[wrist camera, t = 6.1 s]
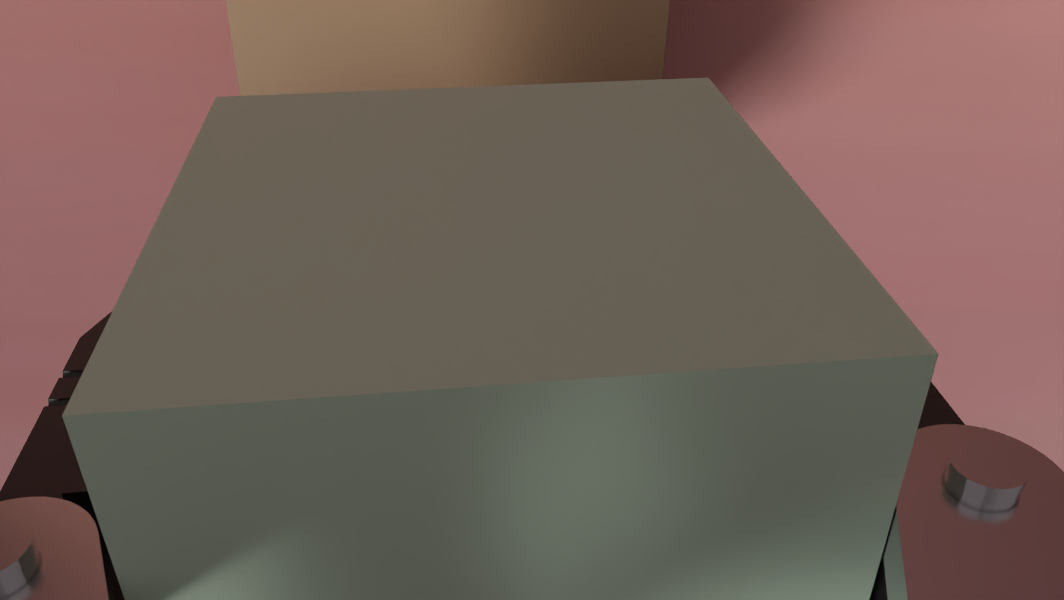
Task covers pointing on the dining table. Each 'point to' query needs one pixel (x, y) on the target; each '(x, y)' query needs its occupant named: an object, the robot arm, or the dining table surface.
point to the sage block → (496, 359)
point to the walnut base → (442, 43)
